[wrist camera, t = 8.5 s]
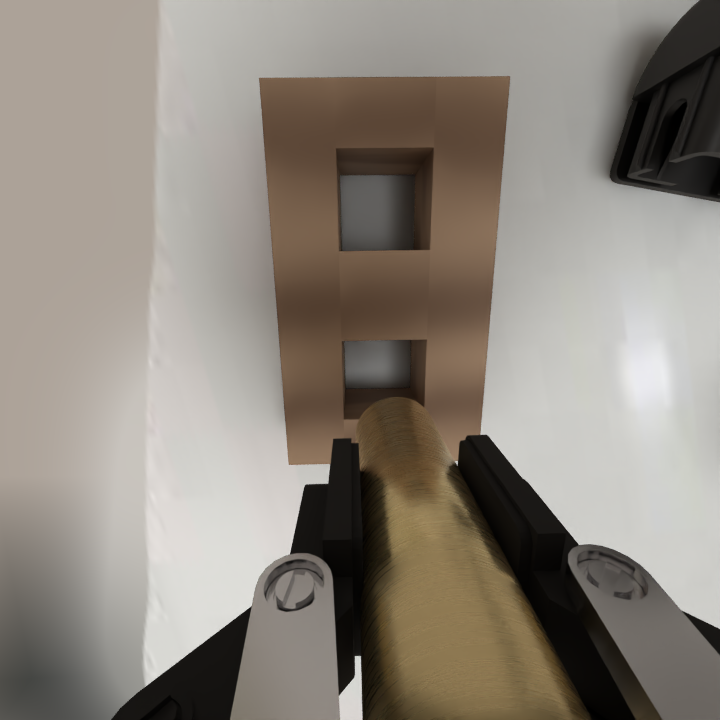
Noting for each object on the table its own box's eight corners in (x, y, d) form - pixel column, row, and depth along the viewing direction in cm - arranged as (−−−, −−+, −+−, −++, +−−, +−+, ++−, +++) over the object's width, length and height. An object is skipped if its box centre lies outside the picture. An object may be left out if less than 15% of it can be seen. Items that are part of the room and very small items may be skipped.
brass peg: (355, 397, 13) (372, 1031, 2) (436, 396, 13) (836, 1005, 2) (356, 470, 14) (374, 1198, 3) (432, 468, 14) (719, 1175, 3)
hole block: (281, 123, 20) (259, 77, 15) (472, 121, 20) (510, 76, 15) (301, 426, 25) (288, 464, 20) (454, 422, 25) (478, 460, 20)
